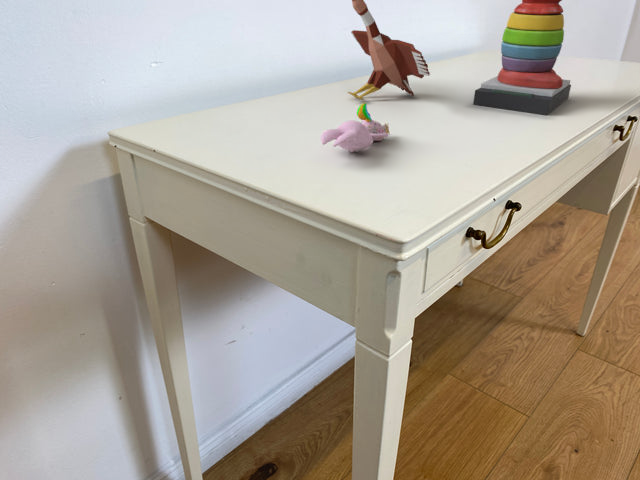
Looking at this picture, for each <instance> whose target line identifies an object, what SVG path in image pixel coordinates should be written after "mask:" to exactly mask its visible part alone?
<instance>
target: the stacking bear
mask: <svg viewBox="0 0 640 480" xmlns="http://www.w3.org/2000/svg"><path fill="white" fill-rule="evenodd" d="M562 1H563V0H521V3H519V4H518V5H517V6H515V8H514V9H513V12H511V13H510V15H509V17H508V20H507V22H506V27H505V28H504V31H503V34H502V41H501V43H500V44H501V46H500V53H501V66H502V67H501V69H500V70H499V72H498V73H497V74H498V75H497V76H498V77H497V76H496V77H497V80H498V81H500V82H502V83H505V84H509V85H515V86H522V87H531V88H547V89H556V88H561V87H562V85H563V81H562V79H563V78H562V76H560V75H558V74H557V72H556V71H555V70H554V67H555V64H556V62H557V59H558V57H559V55H560V53H561V51H562V47H563V43H564V36H565V30H564V26H565V18H564V14H563V13H564V9H563V7H562V6H561V5H560V2H562Z"/></svg>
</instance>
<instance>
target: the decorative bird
mask: <svg viewBox="0 0 640 480" xmlns="http://www.w3.org/2000/svg"><path fill="white" fill-rule="evenodd" d="M351 3H352V8H353V10H354V11H355V12H356V14H357V15H359V16H360V18H361V20H362V22H363V24H364V27H365V30H366V31H365V30H357V29H356V30H355V29H353V30H351V31H350V33H351V35H352V37H353V38H354V39H355V41H356V42H357V43H358V45H359V46H360V48H361V49H362V51H363V52H364V54H365V55H368V56H369V57H370V60H371V63H372V67H373V70H372V72H371V74H370V76H369V78H368V80H367V82H366V83H365V84H364V85H363V86H361V87H360V88H358V90H356V91H355V92H351V91H347V94H349V95H350V96H353V97H354V98H356V99H358V100H362V101H366V100H365V99H364V97H366V96H368V95H370V94H373V93H376V92H377V91H380V90H381V89H382V88H383V87H384V86H386V85H387V84H390V85H393V86H395V87H397V88H399V89H400V90H401V91H405V93H408V94H409V95H412V97H414V96H415V93H414V91H413V90H412V88H411V87H410V83H409V78H408V77H409V76H414V77H416V78H418V79H422V80H423V78H424V77H425V76H428V77H429V76H430V74H431V73H430V71H429V65H428V63H427V61H426V60H425V59H424V56H423V54H422V51H419V49H416V47H415V45H414V44H413V43H410V42H408V41H407V42H406V41H403V40H400V39H392V38H391V37H389V35H387V34H384V33H382V32H381V31H380V30H379V27H378V25H377V23H376V20H375V18H374V17H373V15H372V13H371V11H370V10H369V8H368V5H367V3H366V1H365V0H351ZM362 92H363V93H362ZM360 93H362V94H361V95H358V94H360Z"/></svg>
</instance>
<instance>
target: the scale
mask: <svg viewBox="0 0 640 480" xmlns="http://www.w3.org/2000/svg"><path fill="white" fill-rule="evenodd" d="M497 77H498V75H497V76H495V77H492V78H490V79H488V80H486V81H483V82H482V83H481V84H480V87H479V88H477V89H475V90H474V94H473V102H472V105H473V106H480V107H486V108H494V109H502V110H506V111H507V110H509V111H515V112H522V113H529V114H534V115H535V114H536V115H543V116H548V115H549V114H551V112H553V111H554V110H556V109H557V108H558V107H559V106H560V105H562V104H564V103H565V102H566V101H567V100H568V99H569V97H570V94H571V93H570V92H571V88H572V84H571V79H563V78H562V81H563V85H562V87H561V88H556V89H547V88H531V87H522V86H515V85H509V84H505V83H502V82H500V81H498V80H497Z"/></svg>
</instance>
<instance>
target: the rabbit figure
mask: <svg viewBox="0 0 640 480" xmlns="http://www.w3.org/2000/svg"><path fill="white" fill-rule="evenodd" d="M367 107H368V104H367V102H363V103H361V104H360V105H359V106H358V108H357V110H356V116H357V118H358V119H359V120H361V122H360V121H358V120H347V121H344V122H342V123H340V124H339V126H338V127H337V128H330V129H326V130H324V131H323V132H322V133H321V136H320V143H321V145H323V146H324V145H326V144H328V143H330V142H332V141H334V140H335V141H334V143H333V144H332V147H340V148H342V149H344V150H347V151H350V153H354V152H356V153H358V152H360V150H365V149H368V148H369V147H371V146H372V144H374V142H381V141H382V140H384V138H387V137H388V136H389V135H391V133H390V129H389V128H390V127H389V124H390V123H389V122H387V123H384V124H381V123H380V122H379V121H376V120H373V118H371V114H370V112H369V111H368V108H367Z"/></svg>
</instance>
